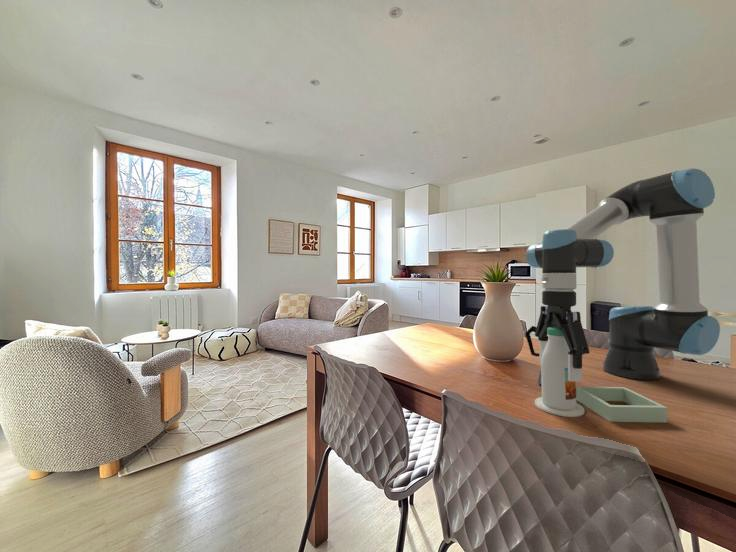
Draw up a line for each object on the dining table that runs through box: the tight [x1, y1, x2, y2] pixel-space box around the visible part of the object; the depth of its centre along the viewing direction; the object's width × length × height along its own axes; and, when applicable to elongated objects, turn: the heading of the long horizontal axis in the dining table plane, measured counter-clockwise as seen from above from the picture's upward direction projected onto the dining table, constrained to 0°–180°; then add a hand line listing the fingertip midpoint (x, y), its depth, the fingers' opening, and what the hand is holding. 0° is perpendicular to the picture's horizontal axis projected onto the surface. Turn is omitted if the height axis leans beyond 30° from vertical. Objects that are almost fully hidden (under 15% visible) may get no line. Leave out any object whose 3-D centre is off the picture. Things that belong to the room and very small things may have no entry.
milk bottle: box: [540, 327, 577, 410], centre depth 81 cm, size 8×8×20 cm
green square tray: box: [576, 386, 668, 423], centre depth 80 cm, size 13×13×4 cm
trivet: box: [534, 396, 585, 418], centre depth 81 cm, size 11×11×1 cm
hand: (558, 372), depth 81 cm, fingers open, 13 cm apart
